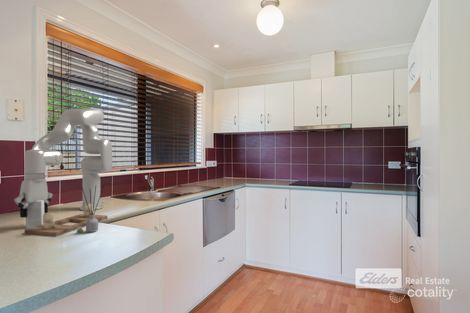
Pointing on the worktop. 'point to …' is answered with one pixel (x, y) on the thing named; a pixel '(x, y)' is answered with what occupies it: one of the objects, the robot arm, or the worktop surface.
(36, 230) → the walnut rail
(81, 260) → the worktop surface
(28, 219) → the skincare box
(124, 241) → the worktop surface
